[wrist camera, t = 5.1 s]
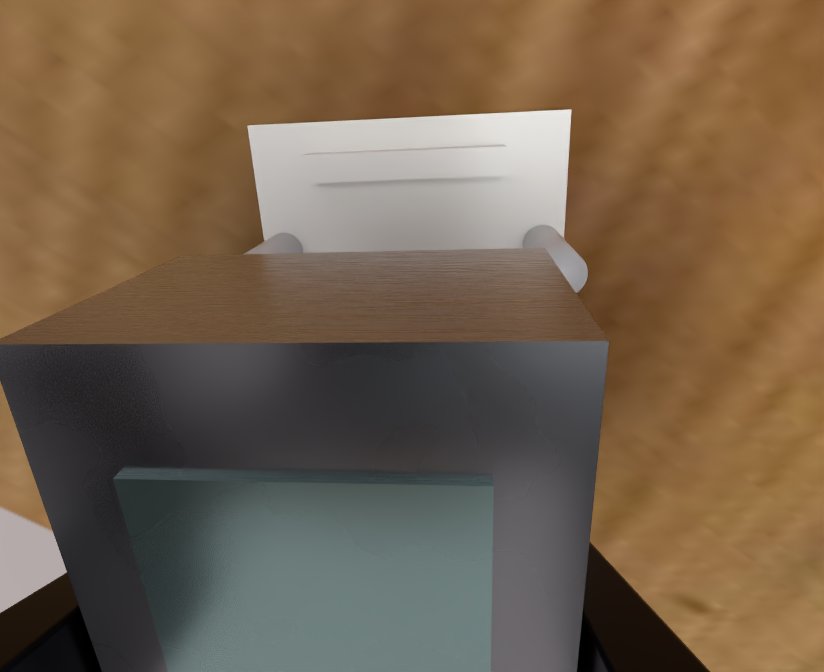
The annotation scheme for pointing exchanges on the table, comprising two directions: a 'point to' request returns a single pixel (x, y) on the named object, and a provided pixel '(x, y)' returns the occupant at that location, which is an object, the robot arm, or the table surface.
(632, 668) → the robot arm
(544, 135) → the white peg stand
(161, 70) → the table surface
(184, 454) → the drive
